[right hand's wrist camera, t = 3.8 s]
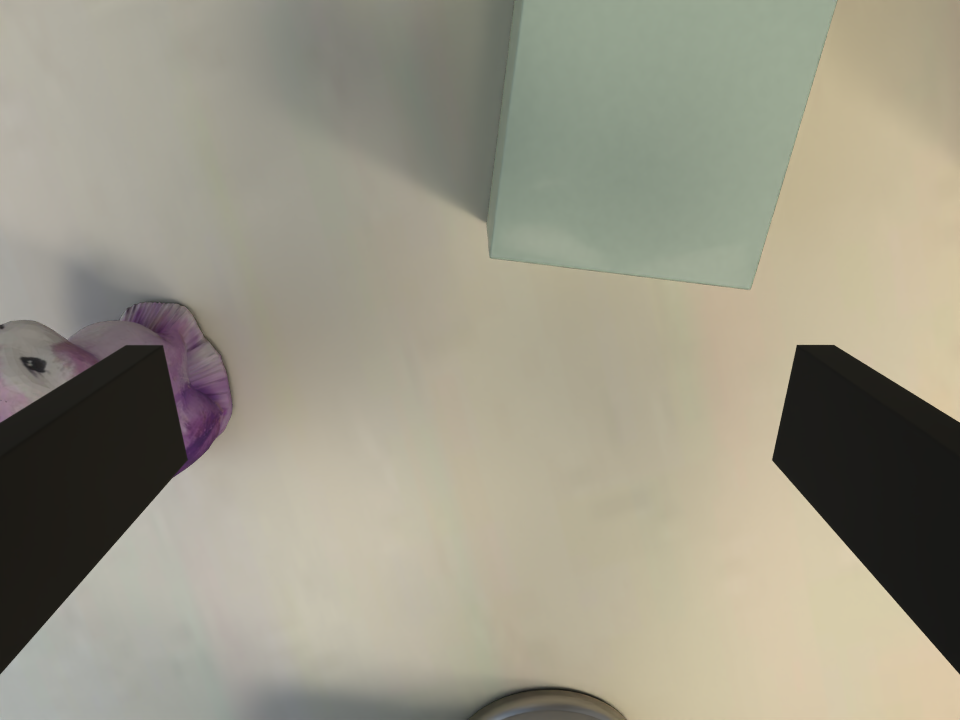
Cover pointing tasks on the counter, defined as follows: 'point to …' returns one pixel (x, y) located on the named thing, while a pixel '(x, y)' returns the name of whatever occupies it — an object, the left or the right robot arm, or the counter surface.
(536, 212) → the cabinet
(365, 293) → the counter surface
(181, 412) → the figurine
